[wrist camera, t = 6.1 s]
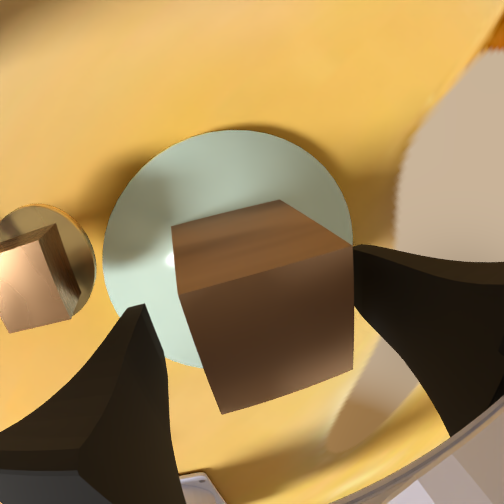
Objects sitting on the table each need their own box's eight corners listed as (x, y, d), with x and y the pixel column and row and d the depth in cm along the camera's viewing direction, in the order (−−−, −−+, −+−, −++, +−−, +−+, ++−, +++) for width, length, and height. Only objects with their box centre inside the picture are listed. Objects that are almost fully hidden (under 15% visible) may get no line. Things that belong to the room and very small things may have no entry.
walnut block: (292, 293, 15) (352, 369, 10) (198, 320, 14) (221, 414, 9) (279, 199, 13) (352, 245, 8) (171, 226, 12) (177, 295, 7)
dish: (345, 320, 17) (353, 330, 17) (152, 377, 16) (152, 390, 15) (330, 114, 13) (342, 113, 12) (75, 167, 11) (68, 170, 10)
